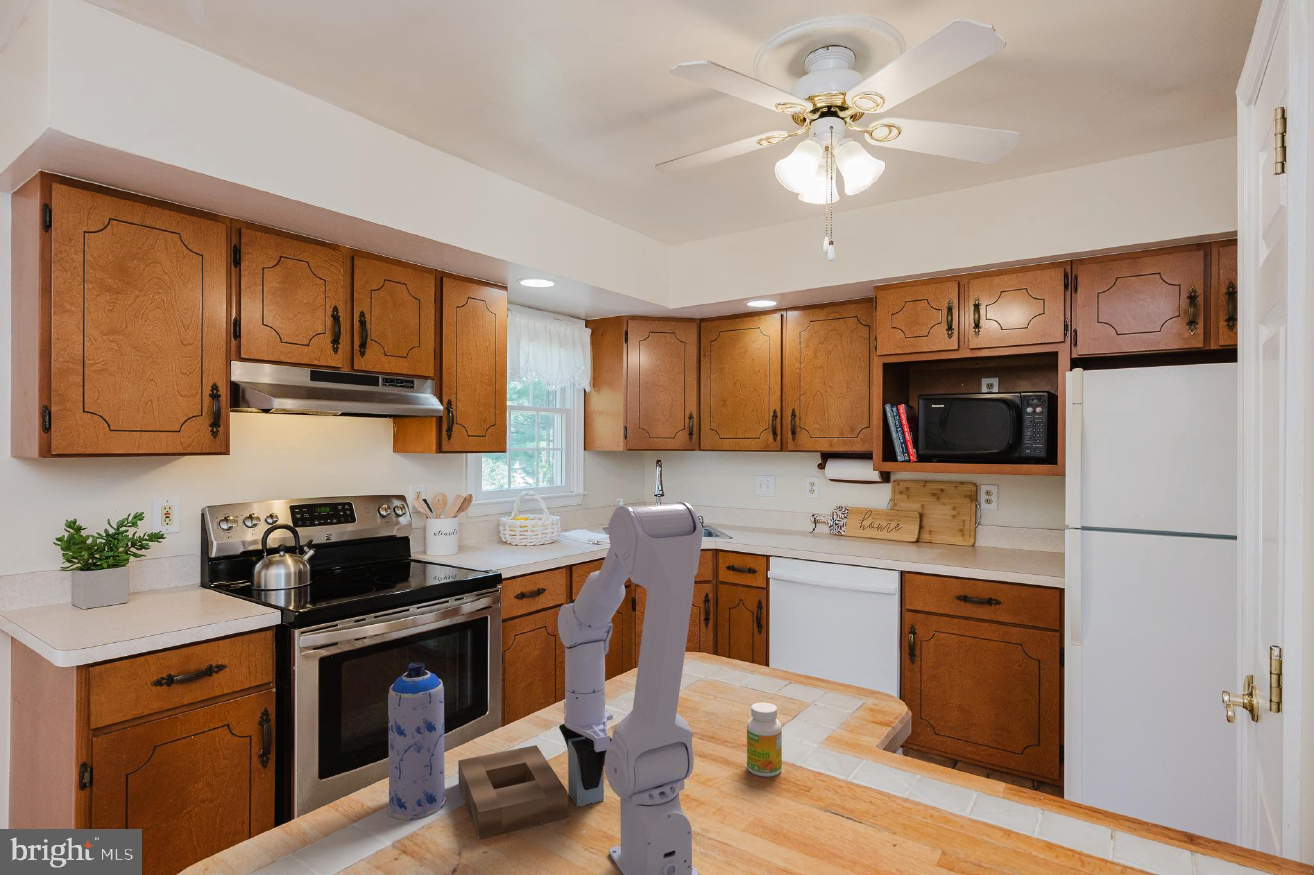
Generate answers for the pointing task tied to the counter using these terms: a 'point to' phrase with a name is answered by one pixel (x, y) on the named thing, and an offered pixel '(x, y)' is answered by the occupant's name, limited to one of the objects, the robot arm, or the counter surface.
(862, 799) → the counter surface
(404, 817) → the aerosol can
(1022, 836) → the counter surface
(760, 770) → the supplement bottle
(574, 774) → the slate peg
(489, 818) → the walnut socket holder
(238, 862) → the counter surface
